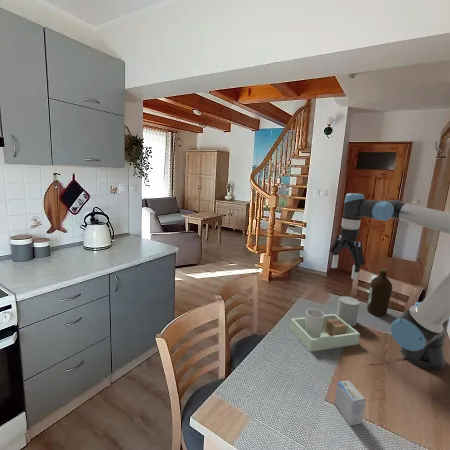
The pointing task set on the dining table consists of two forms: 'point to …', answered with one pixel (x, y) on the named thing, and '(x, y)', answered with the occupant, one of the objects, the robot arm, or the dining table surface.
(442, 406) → the dining table surface
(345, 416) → the medicine box
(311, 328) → the cup
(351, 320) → the white can
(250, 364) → the dining table surface
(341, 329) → the walnut block
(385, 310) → the olive oil
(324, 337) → the tote
